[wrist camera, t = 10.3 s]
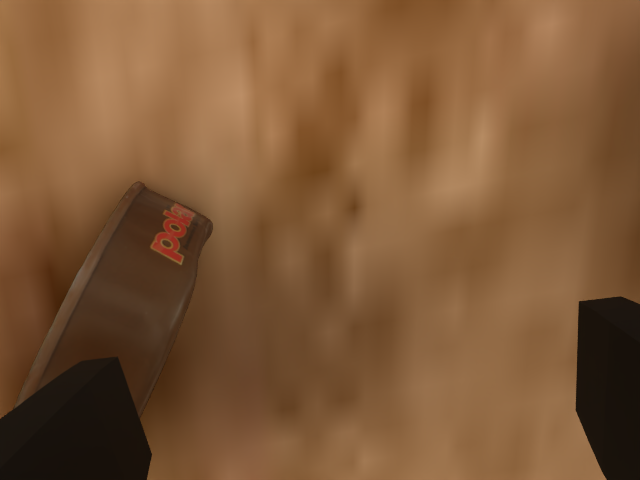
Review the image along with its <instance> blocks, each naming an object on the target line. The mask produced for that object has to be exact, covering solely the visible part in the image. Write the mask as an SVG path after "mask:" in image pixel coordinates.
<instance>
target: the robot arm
mask: <svg viewBox="0 0 640 480" xmlns="http://www.w3.org/2000/svg"><path fill="white" fill-rule="evenodd" d="M576 412H577V414H578V417H579V419H580V422H581V424H582V426H583V429H584V431H585V434H586V436H587V438H588V441H589V443H590V445H591V448H592V450H593V452H594V454H595V457H596V459H597V461H598V463H599V466H600V468H601V470H602V472H603V474H604V476H605V477H606V479H607V480H640V304H638V303H635V302H633V301H631V300H628V299H626V298H623V297H613V298H604V299H596V300H587V301H579V315H578V349H577V384H576ZM151 456H152V453H151V450H150V448H149V445H148V442H147V439H146V436H145V433H144V430H143V427H142V425H141V422H140V419H139V416H138V413H137V410H136V407H135V404H134V401H133V399H132V396H131V393H130V390H129V387H128V384H127V381H126V378H125V375H124V373H123V370H122V367H121V364H120V361H119V358H118V356H117V357H109V358H100V359H92V360H84V361H80V362H79V363H77V364H76V365H74V366H72V367H71V368H69V369H68V370H66V371H65V372H63V373H62V374H60V375H59V376H57V377H56V378H55V379H53V380H52V381H50V382H49V383H48V384H46V385H45V386H44V387H42V388H41V389H40V390H38V391H37V392H36V393H34V394H33V395H32V396H30V397H29V398H28V399H26V400H25V401H24V402H22V403H21V404H20V405H18V406H17V407H16V408H14V409H13V410H12V411H10V412H9V413H8V414H7V415H5V416H4V417H3V418H1V419H0V480H147V475H148V471H149V466H150V461H151Z"/></svg>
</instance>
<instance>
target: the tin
mask: <svg viewBox="0 0 640 480" xmlns="http://www.w3.org/2000/svg"><path fill="white" fill-rule="evenodd" d="M212 230H213V224H212V222H211V221H210V220H209V219H208V218H206V217H205V216H203V215H201V214H200V213H198V212H196V211H194V210H192V209H190V208H188V207H186V206H183V205H181V204H179V203H177V202H175V201H172V200H170V199H168V198H166V197H164V196H161V195H159V194H157V193H155V192H153V191H151V190H149V189H147V187H146V186H145V184H144V183H142V182H139V181H138V182H136V183H134V184H133V185H132V186H131V188H130V189H128V191H127V192H126V193H125V195H124V196H123V198H122V199H121V201H120V202H119V204H118V205H117V207H116V209H115V210H114V212H113V213H112V214H111V216H110V218H109V220H108V221H107V223H106V225H105V227H104V229H103V230H102V232H101V233H100V235H99V236H98V238H97V240H96V242H95V244H94V246H93V247H92V249H91V250H90V252H89V254H88V255H87V258H86V260H85V262H84V263H83V265H82V267H81V268H80V270H79V271H78V273H77V275H76V277H75V279H74V281H73V283H72V285H71V287H70V289H69V291H68V293H67V295H66V297H65V299H64V301H63V303H62V305H61V307H60V309H59V311H58V313H57V315H56V317H55V320H54V322H53V324H52V326H51V328H50V330H49V332H48V334H47V336H46V338H45V340H44V342H43V344H42V346H41V348H40V350H39V352H38V354H37V357H36V359H35V361H34V363H33V365H32V367H31V369H30V373H29V375H28V377H27V379H26V380H25V382H24V385H23V387H22V390H21V392H20V394H19V395H18V399H17V402H16V404H15V406H14V408H16V407H17V406H18V405H20V404H21V403H22V402H24V401H25V400H26V399H28V398H29V397H30V396H32V395H33V394H34V393H36V392H37V391H38V390H40V389H41V388H42V387H44V386H45V385H46V384H48V383H49V382H50V381H52V380H53V379H55V378H56V377H57V376H59V375H60V374H62V373H63V372H65V371H66V370H68V369H69V368H71V367H72V366H74V365H76V364H77V363H79V362H80V361H84V360H92V359H100V358H109V357H117V356H118V358H119V361H120V364H121V367H122V370H123V373H124V375H125V378H126V381H127V384H128V387H129V390H130V393H131V396H132V399H133V401H134V404H135V407H136V410H137V413H138V416H139V419H140V417H141V415H142V413H143V411H144V408H145V406H146V404H147V402H148V400H149V398H150V395H151V393H152V391H153V389H154V387H155V384H156V382H157V380H158V378H159V376H160V373H161V371H162V369H163V366H164V364H165V362H166V360H167V357H168V355H169V353H170V350H171V348H172V346H173V343H174V341H175V338H176V336H177V333H178V331H179V328H180V326H181V323H182V320H183V318H184V315H185V313H186V310H187V308H188V305H189V302H190V299H191V296H192V293H193V290H194V286H195V281H196V277H197V264H198V258H199V255H200V252H201V249H202V247H203V245H204V244H205V242H206V240H207V239H208V238H209V236H210V235H211V233H212ZM14 408H13V409H14Z"/></svg>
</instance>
